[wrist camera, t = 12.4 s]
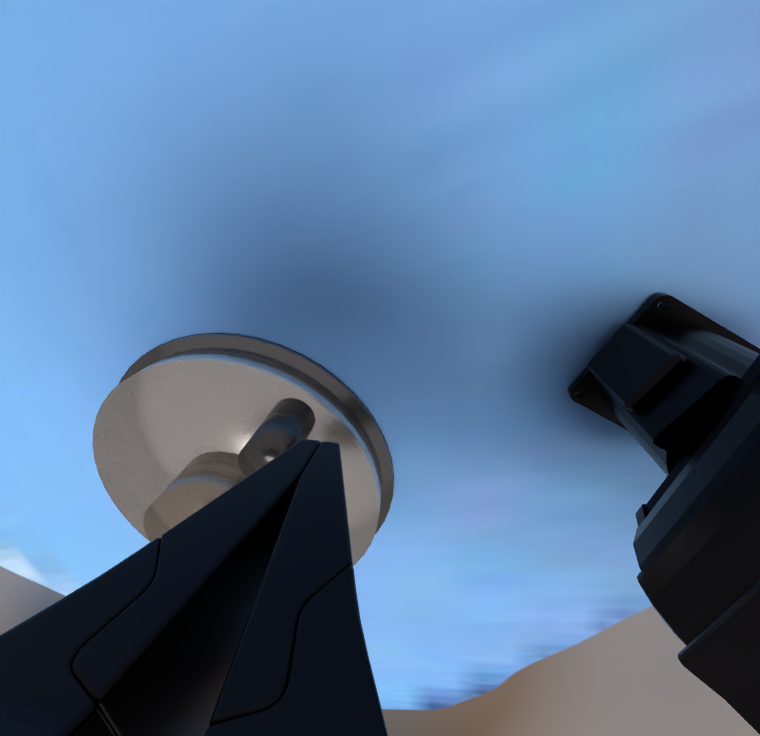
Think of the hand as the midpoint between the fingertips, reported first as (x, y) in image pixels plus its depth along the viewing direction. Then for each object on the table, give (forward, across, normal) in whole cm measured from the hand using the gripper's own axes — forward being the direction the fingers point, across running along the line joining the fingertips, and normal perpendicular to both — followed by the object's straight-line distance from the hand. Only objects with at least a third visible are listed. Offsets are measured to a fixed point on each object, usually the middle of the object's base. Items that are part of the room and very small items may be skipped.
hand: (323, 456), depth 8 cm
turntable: (+12, +9, +12) cm, 19 cm away
